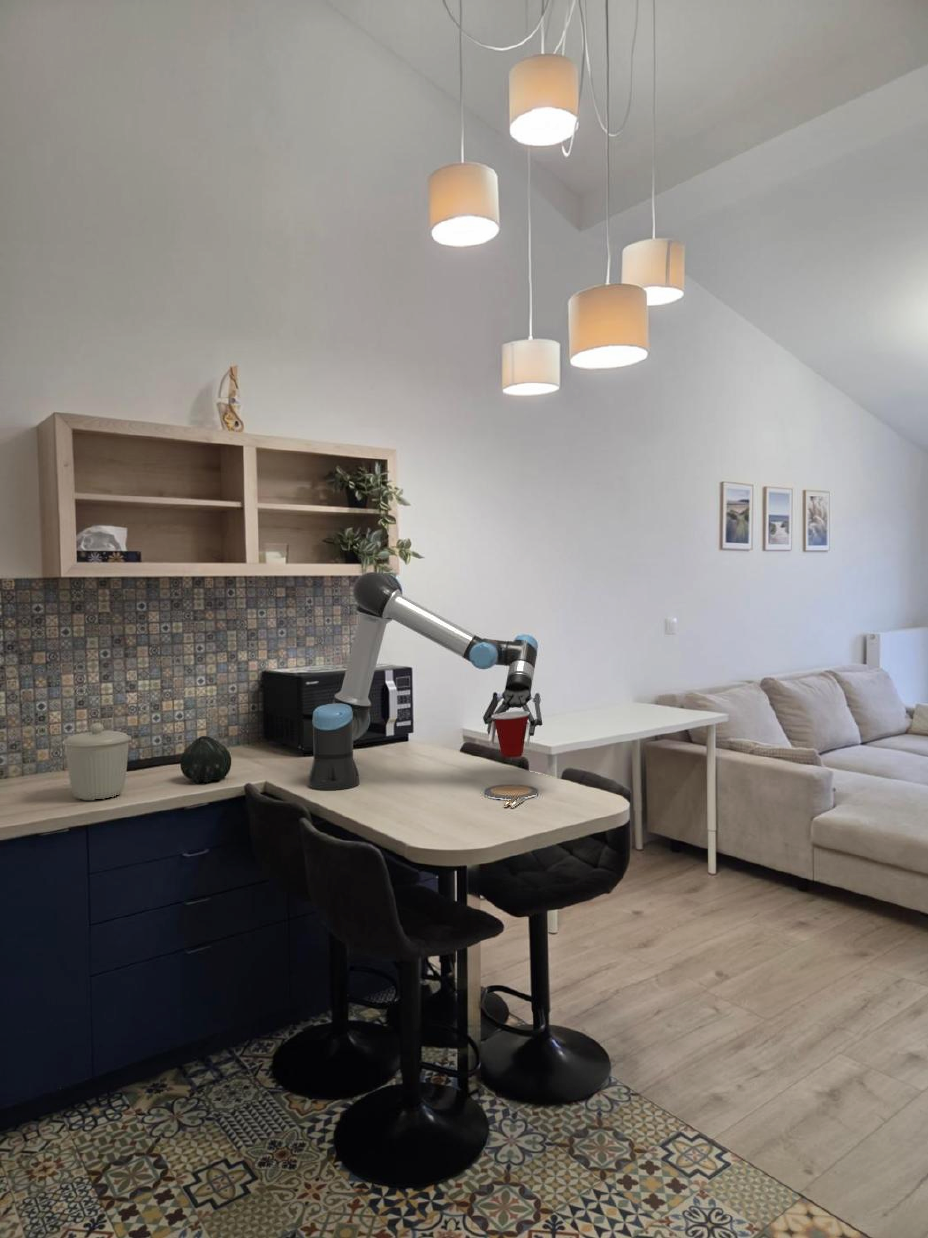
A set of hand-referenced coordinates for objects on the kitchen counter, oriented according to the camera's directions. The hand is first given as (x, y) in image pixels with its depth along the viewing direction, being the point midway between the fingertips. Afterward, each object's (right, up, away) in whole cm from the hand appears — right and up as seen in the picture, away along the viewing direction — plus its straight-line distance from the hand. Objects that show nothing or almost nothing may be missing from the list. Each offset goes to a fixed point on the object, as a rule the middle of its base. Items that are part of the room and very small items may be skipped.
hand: (508, 743), depth 234 cm
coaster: (+1, -15, +4) cm, 15 cm away
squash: (-91, -16, +27) cm, 97 cm away
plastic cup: (+1, -4, +3) cm, 5 cm away
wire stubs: (+1, -15, -8) cm, 17 cm away
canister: (-116, -17, +8) cm, 118 cm away
